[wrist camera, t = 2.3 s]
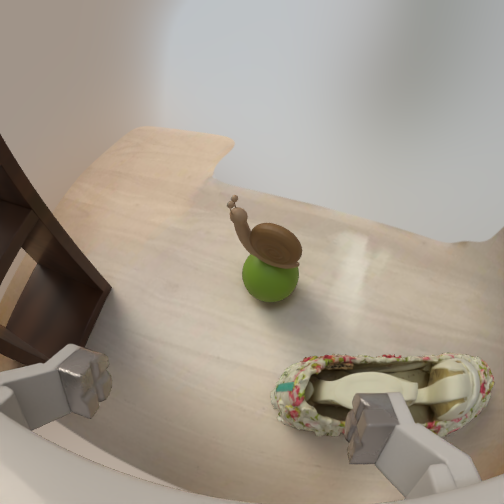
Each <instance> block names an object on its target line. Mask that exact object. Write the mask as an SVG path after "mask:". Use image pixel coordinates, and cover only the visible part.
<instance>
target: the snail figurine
mask: <svg viewBox="0 0 504 504" xmlns="http://www.w3.org/2000/svg"><path fill="white" fill-rule="evenodd" d="M231 200H232V201H233V202H234V203H233V202H232V201H229V202H228V204H227V207H228V208H230V211H231V212H230V219H231V221H232V222H233V223H234V226H235V230H236V233H237V235H238V238H239V240H240V241H241V243H242V245H243V246H244V247H245V249H246V250H247V251H248V252H249V253H250V255H249V257H248V258H247V259H246V261H245V263H244V266H243V272H242V277H243V282H244V285H245V287H246V289H247V290H248V292H249V293H250V294H251V295H252V296H253V297H255V298H256V299H258V300H261V301H264V302H277V301H280V300H283V299H285V298H286V297H288V296H289V295H290V294H291V293H292V292H293V290H294V289H295V287H296V285H297V282H298V278H299V270H298V266H299V263H298V262H297V261H298V260H299V259H300V257H301V255H302V247H301V244H300V242H299V240H298V239H297V237H296V236H295V235H294V234H293V233H291V232H290V231H289V230H287V229H286V228H284V227H282V226H279V225H276V224H272V223H262V224H259V225H257V226H255V227H254V228H253V229H252V231H251V230H250V228H249V225H248V223H247V217H248V216H247V213H246V211H245V210H244V209H242V208H237V207H236V206H235V202H236V201H237V200H238V197H237V196H236V195H233V196H232V198H231ZM234 206H235V208H234V209H232V210H231V208H233V207H234Z"/></svg>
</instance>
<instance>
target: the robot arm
mask: <svg viewBox="0 0 504 504" xmlns="http://www.w3.org/2000/svg"><path fill="white" fill-rule="evenodd" d="M108 366H109V362H108V357H107V356H106V355H105V354H102V353H99V352H95V351H92V350H89V349H86V348H83V347H80V346H77V345H74V344H67V345H66V346H65V347H64V348H63V349H61V350H60V351H59V352H58V353H57V354H55V355H54V356H53V357H52V358H50V359H49V360H48V361H47V362H46V363H44V364H43V363H38V364H34V365H29V366H25V367H21V368H16V369H12V370H7V371H3V372H0V504H260V503H251V502H243V501H235V500H229V499H222V498H217V497H211V496H206V495H201V494H196V493H192V492H187V491H183V490H179V489H174V488H171V487H167V486H163V485H160V484H156V483H153V482H149V481H146V480H143V479H140V478H137V477H133V476H131V475H128V474H125V473H122V472H119V471H117V470H114V469H111V468H109V467H106V466H104V465H101V464H98V463H96V462H94V461H91V460H89V459H87V458H84V457H82V456H80V455H78V454H75V453H73V452H71V451H69V450H67V449H65V448H62V447H61V446H59V445H57V444H55V443H52V442H50V441H49V440H47V439H45V438H43V437H41V436H40V435H38V434H36V433H34V432H32V430H34V429H36V428H39V427H41V426H43V425H45V424H47V423H50V422H51V421H54V420H56V419H58V418H60V417H63V416H65V415H67V414H69V413H71V412H73V413H76V414H79V415H81V416H84V417H87V418H90V419H91V418H92V417H93V415H94V414H95V413H96V412H97V410H98V409H99V408H100V406H99V402H101V401H104V400H106V399H107V397H108V396H109V394H110V391H111V388H112V378H111V375H110V373H109V372H108V371H107V368H108ZM352 406H353V409H352V410H351V411H350V412H348V414H347V417H346V421H345V427H344V434H345V439H346V440H347V441H348V442H349V446H348V448H347V452H348V458H349V464H375V466H376V467H377V468H378V469H379V470H380V471H381V472H382V473H383V474H384V476H385V477H386V478H387V479H388V480H389V481H390V482H391V483H392V484H393V485H394V486H395V487H396V488H397V489H398V490H399V491H400V492H401V493H402V495H403V496H404V497H405V499H404V500H400V501H393V502H385V503H376V504H504V474H502V475H499V476H496V477H493V478H490V479H487V480H484V481H482V480H481V478H480V475H479V473H478V471H477V469H476V467H475V465H474V463H473V461H472V459H471V457H470V456H469V455H467V454H466V453H464V452H463V451H461V450H459V449H458V448H456V447H455V446H453V445H452V444H450V443H449V442H447V441H445V440H444V439H442V438H441V437H439V436H438V435H436V434H435V433H433V432H432V431H430V430H429V429H427V428H426V427H424V426H423V425H421V424H420V423H417V424H415V422H414V419H413V417H412V415H411V413H410V410H409V408H408V406H407V404H406V402H405V400H404V397H403V395H402V394H401V393H400V392H387V393H356V394H355V396H354V397H353V400H352Z"/></svg>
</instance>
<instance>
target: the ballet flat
mask: <svg viewBox="0 0 504 504" xmlns="http://www.w3.org/2000/svg"><path fill="white" fill-rule="evenodd" d="M493 386H494V377H493V375H492V373H491V370H490V368H489V366H488V367H487V363H486V362H484V361H483V360H481V359H480V358H478V356H477V357H472V356H470V355H467V354H453V353H449V352H447V353H442V354H441V355H437V356H434V355H432V356H426V355H424V357H412V356H409V357H407V358H404V357H403V358H402V357H401V356H399V357H395V354H394V355H393V356H392V355H390V354H388V355H387V356H386V355H382V357H381V356H378V358H377V356H376V357H375V358H373V357H369V356H363V355H359V356H358V357H354V356H352V357H351V356H347V355H346V354H345V355H344V356H343V355H339V354H338V355H335V354H332V356H331V355H325V356H320V357H317V356H310V357H308V358H307V357H305V358H304V360H303V361H300V363H295V364H292V365H291V366H290V367H289V368H287V369H286V370H285V372H284V373H283V374H282V376H281V377H280V379H279V381H278V382H277V383H276V388H275V389H274V390H273V391H271V399H272V400H271V403H272V404H273V405H274V406H273V407H274V409H278V410H279V413H278V415H279V417H277V419H278V420H279V421H282V422H283V424H284V425H285V424H287V425H290V426H291V427H294V428H297V429H298V430H300V429H302V430H307V431H314V432H315V434H316V435H317V436H323V435H324V434H326V433H328V434H329V433H331V435H330V434H329V436H334V437H335V436H340V433H341V432H342V433H343V434H344V427H345V421H346V417H347V414H348V412H350V411H351V410H352V409H353V406H352V400H353V397H354V396H355V394H356V393H387V392H400V393H401V394H402V395H403V397H404V400H405V402H406V404H407V406H408V408H409V410H410V413H411V415H412V417H413V419H414V422H415V424H417V423H420V424H421V425H423V426H424V427H426V428H427V429H429V430H430V431H432V432H433V433H435V434H436V435H438V436H439V437H441V438H442V437H444V436H446V435H447V434H449V433H451V432H453V431H456V430H458V429H460V428H462V427H464V425H465V424H467V422H469V421H471V419H473V418H474V417H477V415H478V414H480V413H481V411H482V409H483V408H484V407H486V406H487V403H488V401H489V400H490V397H491V392H492V391H491V390H492V388H493ZM328 434H327V436H328Z"/></svg>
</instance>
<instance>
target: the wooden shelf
mask: <svg viewBox="0 0 504 504" xmlns="http://www.w3.org/2000/svg"><path fill="white" fill-rule="evenodd" d="M21 247H22V248H23V249H24V250H25V251H26V252H27V253H28V254H29V255H30V256H31V257H32V258H33V259H34V260H35V261H36V262H37V265H36V267H35V269H34V270H33V272H32V274H31V276H30V278H29V280H28V282H27V284H26V286H25V288H24V290H23V292H22V294H21V296H20V298H19V300H18V302H17V304H16V306H15V308H14V310H13V312H12V314H11V317H10V319H9V321H8V323H7V326H6V328H5V327H4V326H2V325H0V354H3V355H5V356H7V357H9V358H11V359H13V360H16V361H18V362H20V363H23V364H25V365H27V366H29V365H34V364H38V363H43V364H44V363H46V362H47V361H48V360H49V359H50V358H52V357H53V356H54V355H55V354H57V353H58V352H59V351H60V350H61V349H63V348H64V347H65V346H66V345H67V344H74V345H77V346H80V347H83V348H84V347H85V344H86V342H87V340H88V338H89V335H90V333H91V331H92V328H93V326H94V324H95V322H96V320H97V317H98V315H99V313H100V311H101V309H102V307H103V305H104V302H105V300H106V298H107V296H108V294H109V292H110V290H111V288H112V287H111V286H110V284H109V283H108V282H107V281H106V280H105V279H104V278H103V277H102V275H101V274H100V273H99V272H98V271H97V270H96V268H95V267H94V266H93V265H92V264H91V262H90V261H89V260H88V259H87V258H86V256H85V255H84V254H83V253H82V252H81V250H80V249H79V248H78V247H77V245H76V244H75V243H74V242H73V240H72V239H71V238H70V236H69V235H68V234H67V233H66V231H65V230H64V229H63V227H62V226H61V225H60V223H59V222H58V221H57V219H56V218H55V217H54V215H53V214H52V213H51V211H50V210H49V209H48V207H47V206H46V204H45V203H44V202H43V200H42V199H41V197H40V196H39V194H38V193H37V192H36V190H35V189H34V187H33V186H32V184H31V183H30V181H29V180H28V178H27V177H26V175H25V174H24V172H23V170H22V169H21V167H20V166H19V164H18V163H17V161H16V159H15V158H14V156H13V155H12V153H11V151H10V150H9V148H8V146H7V145H6V143H5V141H4V139H3V138H2V136H1V134H0V285H1V283H2V281H3V279H4V277H5V275H6V273H7V271H8V269H9V268H10V266H11V264H12V262H13V260H14V258H15V257H16V255H17V253H18V251H19V250H20V248H21Z"/></svg>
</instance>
